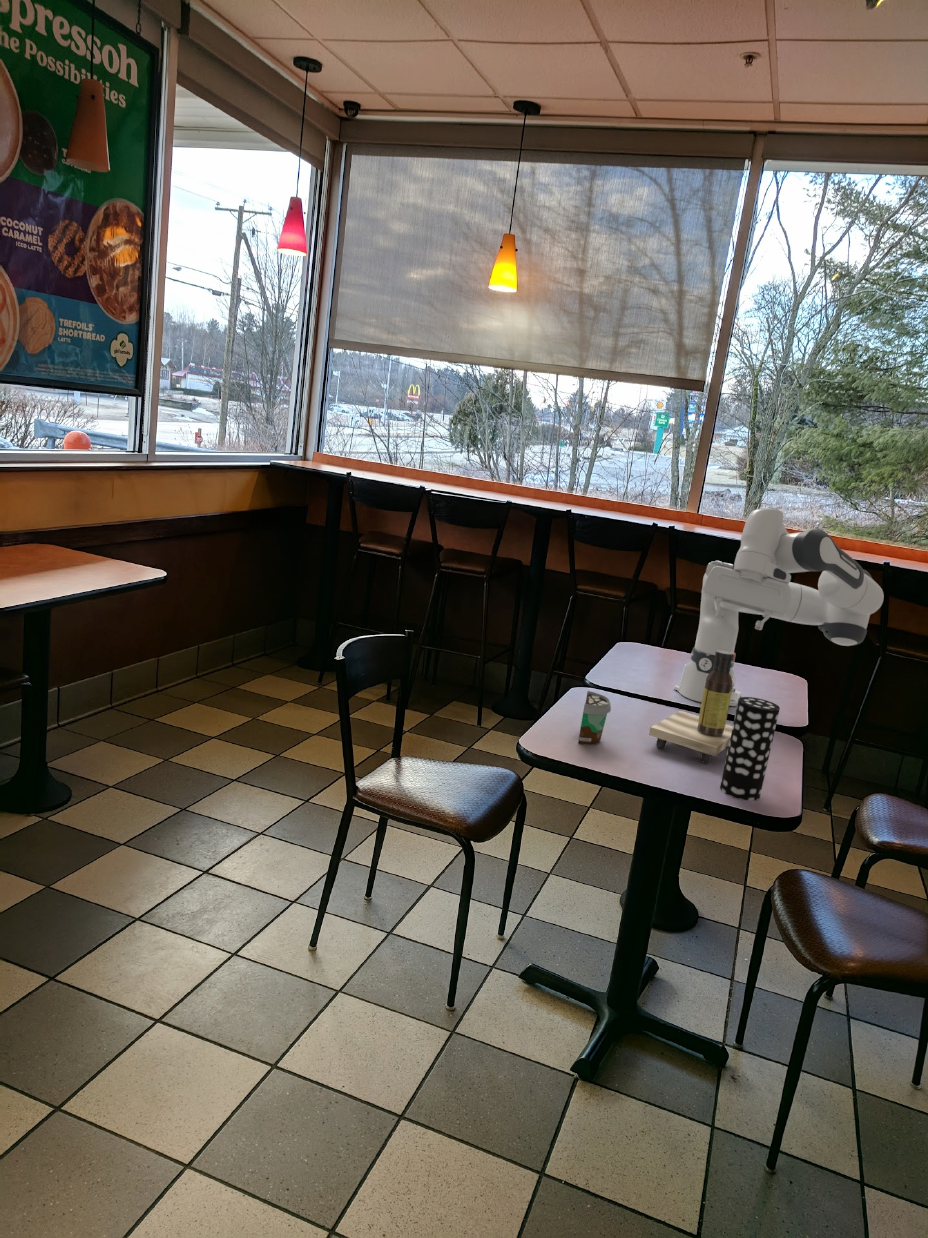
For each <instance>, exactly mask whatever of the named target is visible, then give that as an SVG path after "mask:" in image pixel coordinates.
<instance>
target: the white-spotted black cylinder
mask: <svg viewBox="0 0 928 1238" xmlns="http://www.w3.org/2000/svg"><path fill="white" fill-rule="evenodd" d="M780 710H781V707H780V706H779V705H778V704H776V703H774V702H772V701H769V700H766V699H763V698H758V697H752V696H740V698H739V700H738V703H737V706H736V710H735V715H734V719H733V725H732V726H733V728H732V733H731V737H730V742H729V747H728V748H727V752H726V757H725V763H724V766H723V772H722V774H721V775H722V776H721V781H720V784H719V789H720V791H721V792H723V793H724V794H725V795H727V796H729V797H732V798H735V799H739V800H742V801H750V802H751V801H758V800H759V799H760V798H761V794H762V789H763V785H764V781H765V776H766V772H767V767H768V762H769V758H770V754H771V749H772V746H773V745H772V744H773V741H774V736H775V732H776V727H777V722H778V718H779V714H780Z"/></svg>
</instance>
